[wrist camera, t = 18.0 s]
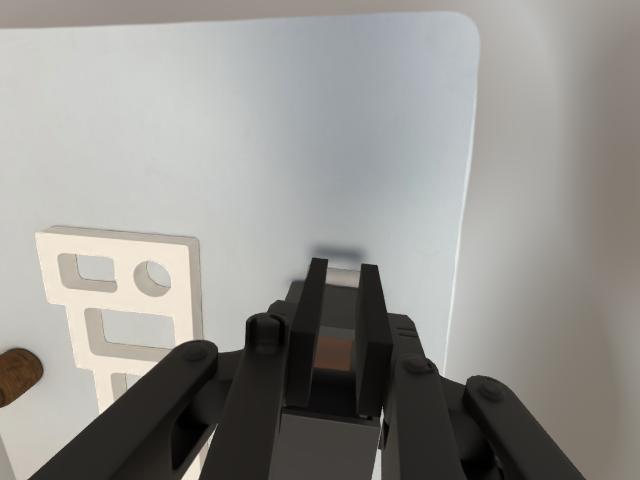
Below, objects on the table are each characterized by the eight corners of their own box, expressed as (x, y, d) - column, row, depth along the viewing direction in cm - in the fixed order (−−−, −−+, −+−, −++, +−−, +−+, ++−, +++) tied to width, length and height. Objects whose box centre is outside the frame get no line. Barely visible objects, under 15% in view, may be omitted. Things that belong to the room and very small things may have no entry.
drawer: (294, 245, 39) (279, 276, 31) (387, 256, 39) (397, 290, 30) (284, 377, 45) (269, 434, 36) (365, 388, 44) (369, 448, 36)
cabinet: (283, 348, 45) (263, 411, 34) (374, 360, 44) (381, 428, 34) (276, 437, 49) (257, 516, 39) (359, 449, 48) (361, 533, 38)
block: (314, 308, 40) (310, 329, 36) (353, 312, 40) (353, 334, 36) (312, 342, 42) (307, 366, 37) (349, 346, 41) (349, 371, 37)
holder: (210, 513, 54) (203, 532, 52) (100, 498, 56) (87, 516, 53) (198, 238, 41) (188, 245, 38) (53, 225, 42) (34, 231, 40)
